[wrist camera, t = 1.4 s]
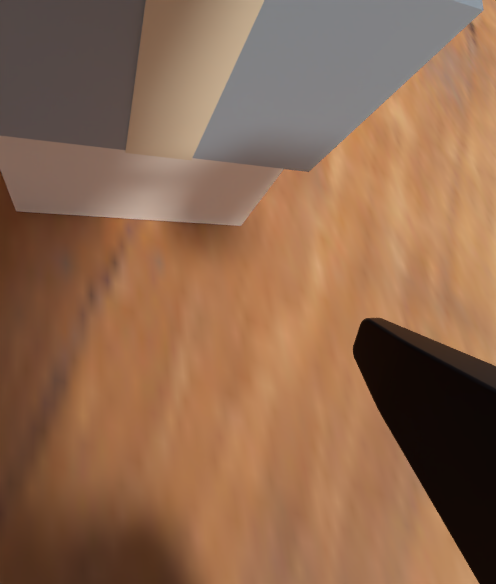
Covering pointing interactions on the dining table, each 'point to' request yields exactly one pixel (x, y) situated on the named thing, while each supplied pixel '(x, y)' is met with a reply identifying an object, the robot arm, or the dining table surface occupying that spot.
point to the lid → (212, 72)
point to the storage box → (129, 183)
